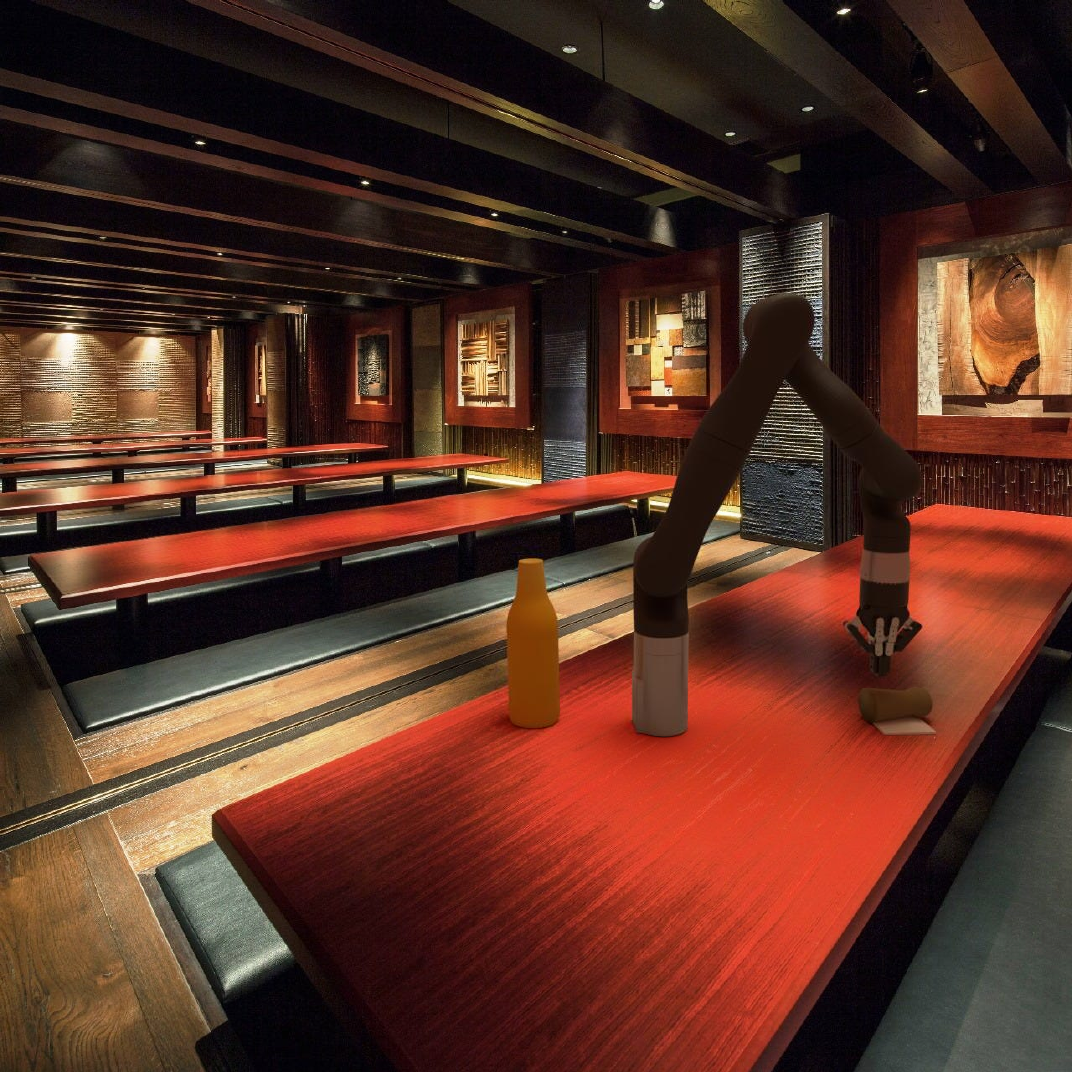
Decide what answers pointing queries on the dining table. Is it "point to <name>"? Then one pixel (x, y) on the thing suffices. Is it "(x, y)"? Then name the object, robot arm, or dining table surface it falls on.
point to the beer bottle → (532, 651)
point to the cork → (893, 703)
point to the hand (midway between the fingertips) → (879, 674)
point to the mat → (904, 726)
